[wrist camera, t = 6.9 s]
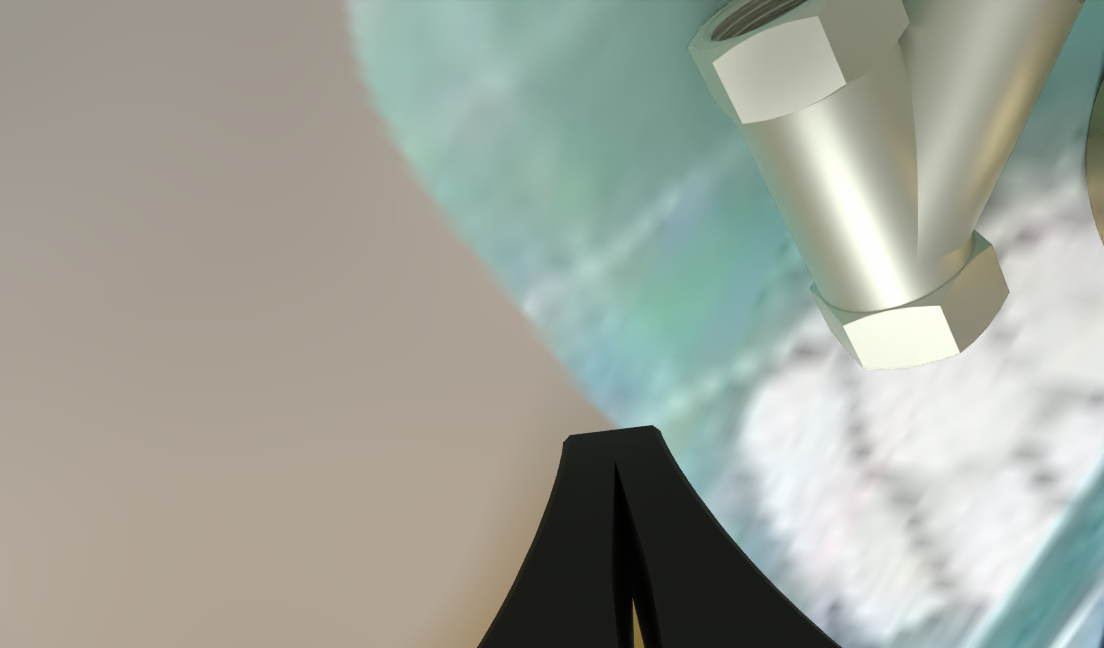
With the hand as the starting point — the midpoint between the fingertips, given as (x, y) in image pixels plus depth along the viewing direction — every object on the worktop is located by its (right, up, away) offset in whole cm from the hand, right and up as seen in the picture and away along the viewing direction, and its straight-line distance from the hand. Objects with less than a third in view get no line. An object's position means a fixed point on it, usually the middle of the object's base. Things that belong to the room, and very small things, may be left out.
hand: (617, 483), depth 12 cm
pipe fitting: (+7, +7, +6) cm, 12 cm away
